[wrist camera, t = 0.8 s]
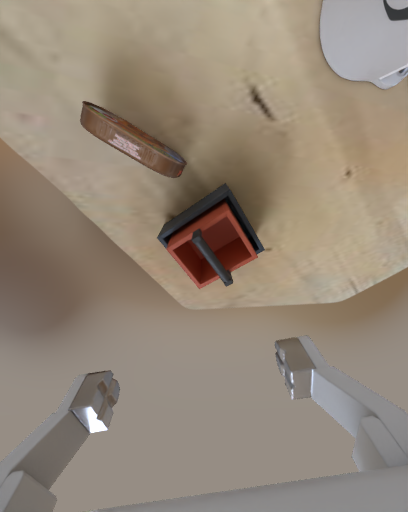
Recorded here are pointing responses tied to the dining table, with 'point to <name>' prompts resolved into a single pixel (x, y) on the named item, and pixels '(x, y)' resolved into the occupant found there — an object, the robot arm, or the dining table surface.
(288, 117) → the dining table surface
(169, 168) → the tin
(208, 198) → the slate bin
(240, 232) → the terracotta bin
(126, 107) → the dining table surface
